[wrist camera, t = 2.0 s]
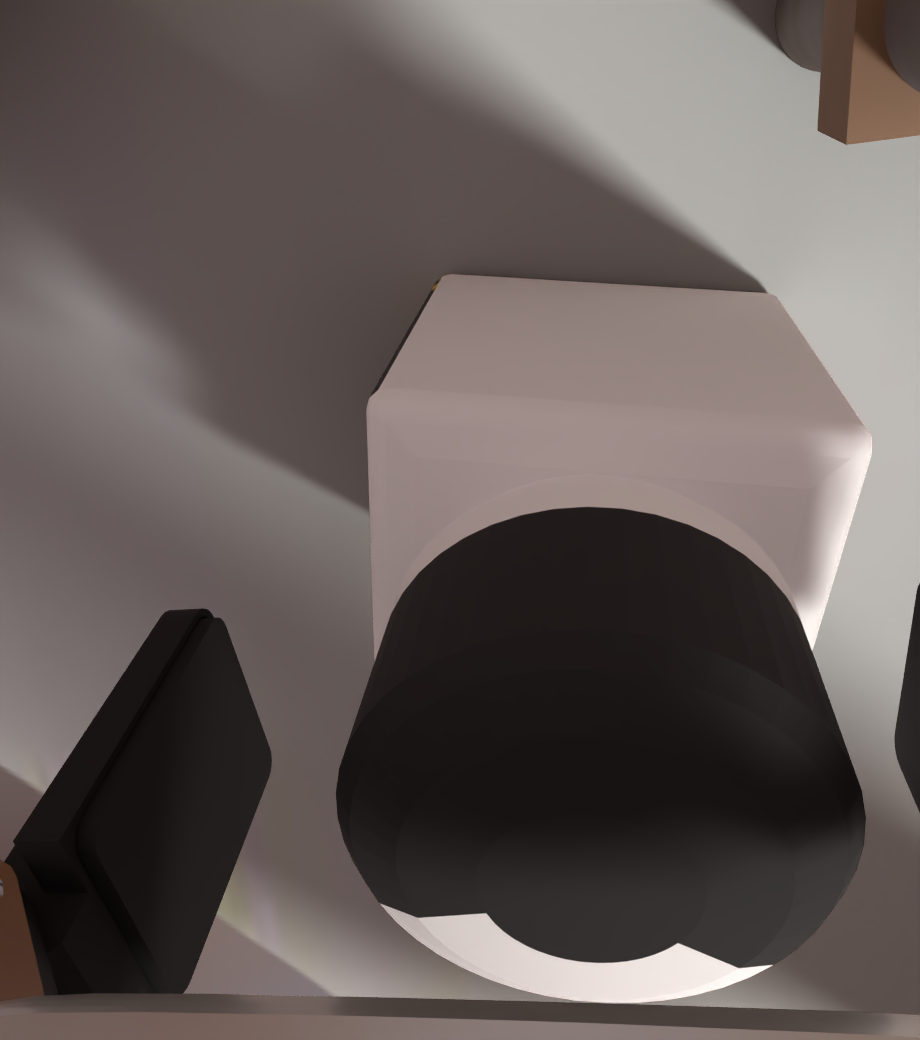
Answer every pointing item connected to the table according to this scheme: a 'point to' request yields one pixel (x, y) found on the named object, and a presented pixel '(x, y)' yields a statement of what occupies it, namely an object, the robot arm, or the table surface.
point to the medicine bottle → (604, 637)
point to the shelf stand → (858, 63)
